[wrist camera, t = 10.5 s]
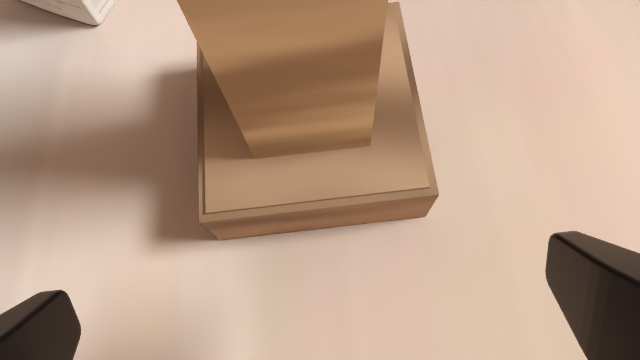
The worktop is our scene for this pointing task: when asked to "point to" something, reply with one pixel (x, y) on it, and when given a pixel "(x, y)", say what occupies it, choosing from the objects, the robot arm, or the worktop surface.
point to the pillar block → (294, 69)
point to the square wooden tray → (318, 162)
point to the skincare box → (77, 9)
